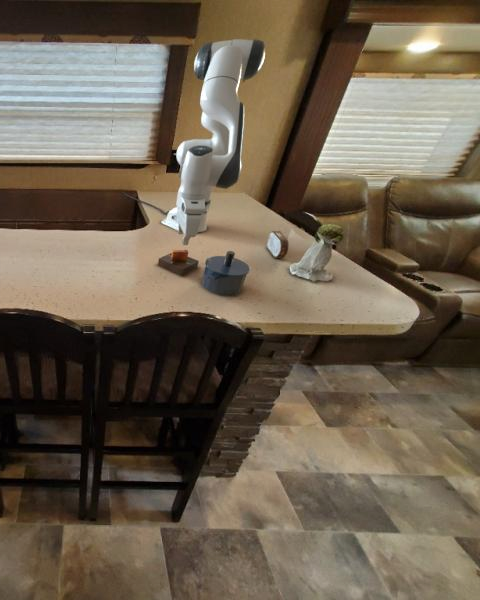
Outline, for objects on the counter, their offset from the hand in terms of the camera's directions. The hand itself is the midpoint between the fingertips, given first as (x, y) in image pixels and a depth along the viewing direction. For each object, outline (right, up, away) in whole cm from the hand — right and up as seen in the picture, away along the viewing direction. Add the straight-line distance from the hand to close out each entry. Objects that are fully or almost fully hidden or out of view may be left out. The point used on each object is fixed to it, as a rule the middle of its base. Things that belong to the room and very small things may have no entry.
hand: (182, 238), depth 107 cm
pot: (+11, -17, -6) cm, 22 cm away
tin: (+43, -3, +15) cm, 45 cm away
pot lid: (+11, -11, -10) cm, 19 cm away
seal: (0, -7, +4) cm, 8 cm away
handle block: (0, -10, +6) cm, 11 cm away
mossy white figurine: (+47, -13, 0) cm, 48 cm away
